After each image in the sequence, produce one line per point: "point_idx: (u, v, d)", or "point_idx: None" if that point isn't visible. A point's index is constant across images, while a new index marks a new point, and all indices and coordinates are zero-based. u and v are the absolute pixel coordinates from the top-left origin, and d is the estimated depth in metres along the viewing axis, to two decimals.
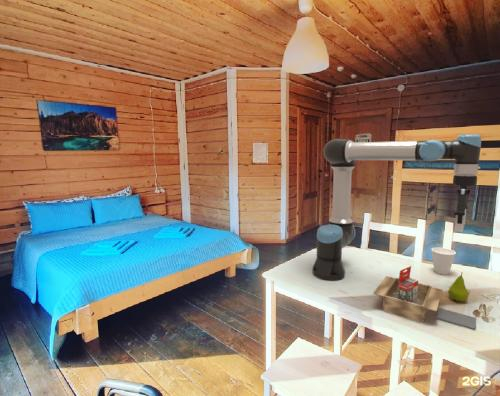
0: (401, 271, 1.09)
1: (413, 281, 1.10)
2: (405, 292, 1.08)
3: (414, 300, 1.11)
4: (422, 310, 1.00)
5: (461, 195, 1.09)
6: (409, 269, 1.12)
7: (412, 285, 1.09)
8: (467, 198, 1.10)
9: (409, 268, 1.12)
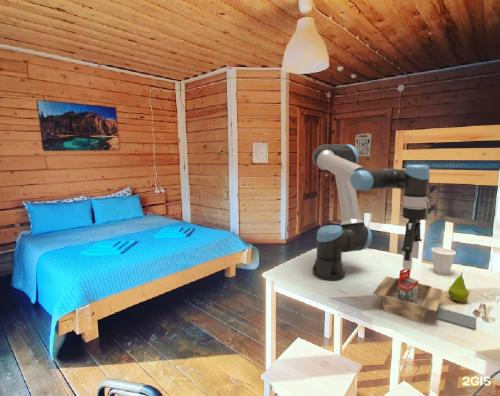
0: (401, 271, 1.09)
1: (413, 281, 1.10)
2: (405, 292, 1.08)
3: (414, 300, 1.11)
4: (422, 310, 1.00)
5: (408, 230, 1.02)
6: (409, 269, 1.12)
7: (412, 285, 1.09)
8: (415, 233, 1.03)
9: None
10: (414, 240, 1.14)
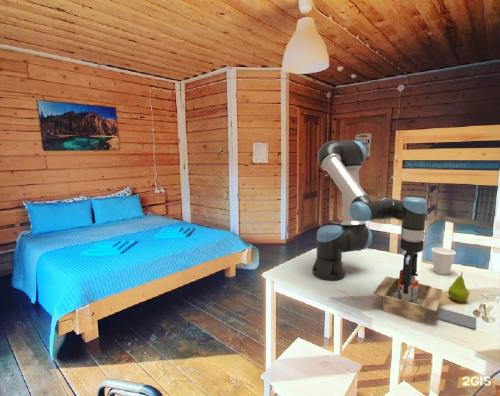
0: (401, 271, 1.09)
1: (413, 281, 1.10)
2: None
3: (414, 300, 1.11)
4: (422, 310, 1.00)
5: (406, 265, 1.04)
6: None
7: (412, 285, 1.09)
8: (413, 266, 1.06)
9: None
10: None
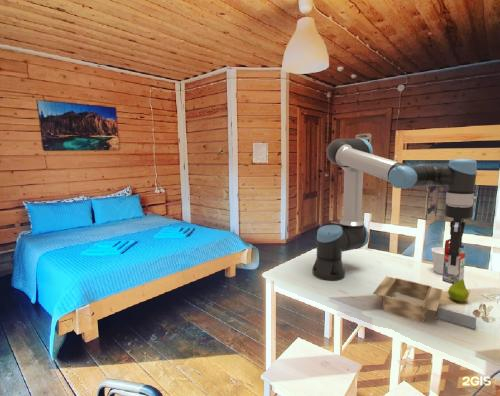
0: (447, 241, 0.99)
1: (460, 253, 1.00)
2: None
3: (461, 274, 1.00)
4: (422, 310, 1.00)
5: (454, 232, 0.94)
6: None
7: (459, 257, 0.98)
8: (461, 234, 0.95)
9: None
10: None
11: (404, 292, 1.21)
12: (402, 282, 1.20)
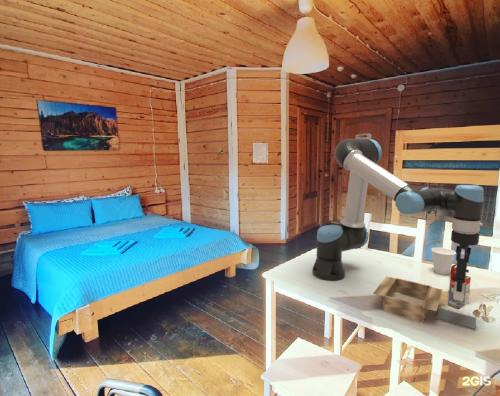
0: (452, 266, 0.99)
1: (465, 278, 1.00)
2: None
3: (466, 299, 1.00)
4: (422, 310, 1.00)
5: (461, 259, 0.94)
6: None
7: (465, 282, 0.98)
8: (467, 261, 0.95)
9: None
10: None
11: (404, 292, 1.21)
12: (402, 282, 1.20)
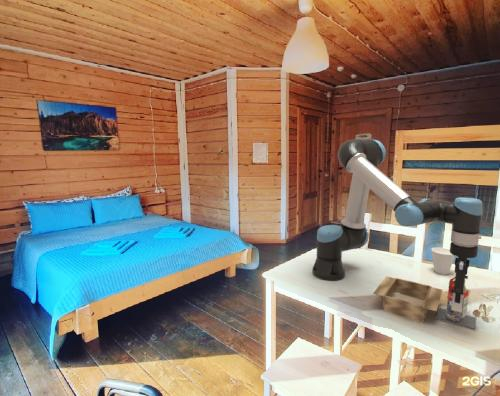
0: (451, 280, 1.00)
1: (463, 291, 1.01)
2: None
3: (464, 312, 1.02)
4: (422, 310, 1.00)
5: (459, 270, 0.94)
6: None
7: (463, 295, 0.99)
8: (466, 272, 0.96)
9: None
10: None
11: (404, 292, 1.21)
12: (402, 282, 1.20)
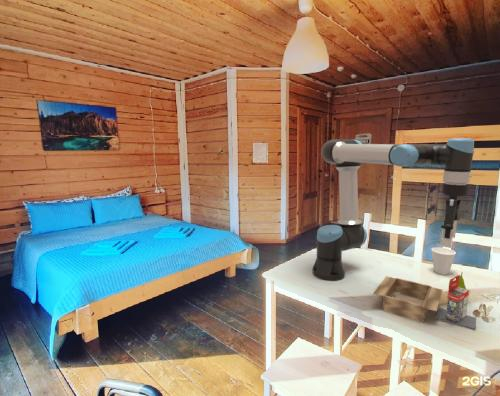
0: (451, 280, 1.00)
1: (463, 291, 1.01)
2: (456, 303, 0.98)
3: (464, 312, 1.02)
4: (422, 310, 1.00)
5: (450, 206, 0.97)
6: (458, 278, 1.03)
7: (463, 295, 0.99)
8: (456, 210, 0.99)
9: (458, 277, 1.03)
10: None
11: (404, 292, 1.21)
12: (402, 282, 1.20)
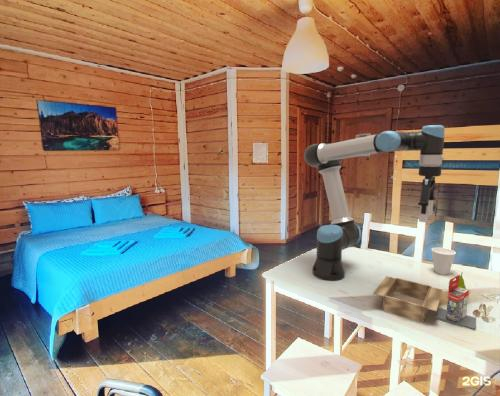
0: (451, 280, 1.00)
1: (463, 291, 1.01)
2: (456, 303, 0.98)
3: (464, 312, 1.02)
4: (422, 310, 1.00)
5: (425, 185, 1.10)
6: (458, 278, 1.03)
7: (463, 295, 0.99)
8: (431, 188, 1.11)
9: (458, 277, 1.03)
10: (428, 199, 1.22)
11: (404, 292, 1.21)
12: (402, 282, 1.20)
